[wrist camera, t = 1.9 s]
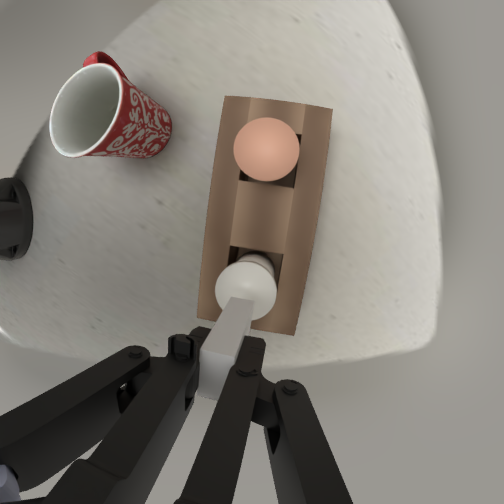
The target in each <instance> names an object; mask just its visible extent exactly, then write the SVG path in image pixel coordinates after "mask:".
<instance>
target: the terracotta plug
mask: <svg viewBox="0 0 504 504" xmlns="http://www.w3.org/2000/svg"><path fill="white" fill-rule="evenodd" d="M299 150H300V148H299V141H298V138H297V136H296V134H295V132H294V131H293V130H292V128H291V127H290V126H288V125H287V124H286V123H284V122H283V121H281V120H278V119H275V118H267V117H266V118H258V119H255V120H253V121H251V122H249V123H247V124H246V125H245V126H244V127H243V128H242V129H241V130H240V131H239V133H238V134H237V136H236V139H235V142H234V157H235V160H236V162H237V164H238V166H239V167H240V169H241V170H242V171H243V172H244V173H245V174H247V175H248V176H250V177H252V178H254V179H257V180H260V181H274V180H278V179H280V178H283V177H284V176H286V175H287V174H288V173H290V172H291V171H292V169H293V168H294V167H295V165H296V163H297V160H298V157H299Z"/></svg>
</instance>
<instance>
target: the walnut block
mask: <svg viewBox="0 0 504 504" xmlns="http://www.w3.org/2000/svg"><path fill="white" fill-rule="evenodd" d="M332 111H333V109H329V108H324V107H319V106H313V105H307V104H301V103H294V102H287V101H279V100H271V99H262V98H251V97H239V96H225V98H224V103H223V109H222V115H221V121H220V127H219V133H218V139H217V146H216V152H215V159H214V166H213V173H212V180H211V187H210V195H209V202H208V210H207V219H206V227H205V236H204V245H203V254H202V264H201V274H200V285H199V297H198V309H197V318H201V319H205V320H210V321H215V322H216V321H217V320H218V318H219V316H220V315H221V313H222V311H223V310H222V308H221V307H220V306H219V304H218V302H217V299H216V295H215V286H216V282H217V279H218V277H219V276H220V274H221V273H222V272H223V270H224V269H225V268H226V267H228V266H229V265H231V264H232V263H235V262H236V261H237V260H238V259H239V257H240V256H242V255H243V254H244V253H246V252H249V251H259V252H262V253H264V254H266V255H267V256H269V257H270V259H271V260H272V261H273V264H274V267H275V275H274V279H275V282H276V287H277V293H276V300H275V303H274V305H273V307H272V309H271V310H270V311H269V312H268V313H267V314H266V315H265V316H263V317H261V318H259V319H257V320H252V321H251V327H250V328H251V329H256V330H262V331H268V332H274V333H280V334H286V335H293V336H294V334H295V330H296V325H297V321H298V317H299V312H300V308H301V303H302V298H303V294H304V289H305V284H306V279H307V274H308V269H309V264H310V259H311V254H312V248H313V243H314V237H315V232H316V226H317V220H318V214H319V208H320V202H321V195H322V189H323V182H324V175H325V168H326V161H327V154H328V146H329V138H330V129H331V121H332ZM266 117H267V118H275V119H278V120H281V121H283V122H284V123H286V124H287V125H288V126H290V127H291V128H292V130H293V131H294V132H295V134H296V136H297V138H298V141H299V148H300V150H299V157H298V160H297V163H296V165H295V167H294V168H293V169H292V171H291V172H290V173H288V174H287V175H286V176H284V177H283V178H280V179H278V180H274V181H260V180H257V179H254V178H252V177H250V176H248V175H247V174H245V173H244V172H243V171H242V170H241V169H240V167H239V166H238V164H237V162H236V160H235V157H234V142H235V139H236V136H237V134H238V133H239V131H240V130H241V129H242V128H243V127H244V126H245V125H246V124H247V123H249V122H251V121H253V120H255V119H258V118H266Z"/></svg>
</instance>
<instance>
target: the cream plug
mask: <svg viewBox="0 0 504 504" xmlns="http://www.w3.org/2000/svg"><path fill="white" fill-rule="evenodd" d="M274 275H275V267H274V264H273V261H272V260H271V259H270V257H269V256H267V255H266V254H264V253H262V252H259V251H249V252H246V253H244V254H243V255H242V256H240V257H239V259H238V260H237V261H236V262H235V263H232V264H231V265H229V266H228V267H226V268H225V269H224V270H223V272H222V273H221V274H220V276H219V277H218V279H217V282H216V286H215V295H216V299H217V302H218V304H219V306H220V307H221V308H222V310H223V309H224V308H225V306H226V304H227V303H228V301H229V299H230V298H231V297H236V298H241V299H246V300H252V301H255V302H254V308H253V314H252V320H257V319H259V318H261V317H263V316H265V315H266V314H267V313H268V312H269V311H270V310H271V309H272V307H273V305H274V303H275V300H276V293H277V287H276V282H275V279H274Z"/></svg>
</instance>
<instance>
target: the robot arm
mask: <svg viewBox="0 0 504 504" xmlns="http://www.w3.org/2000/svg"><path fill="white" fill-rule="evenodd" d="M31 235H32V208H31V202H30V198H29V195H28V192H27V190H26V188H25V186H24V185H23V183H22V182H21V181H20V180H19V179H17V178H3V179H0V260H6V261H10V260H14V259H17V258H20V257H22V256H23V255H24V254H25V252H26V251H27V249H28V247H29V244H30V240H31ZM254 302H255V301H252V300H246V299H241V298H236V297H231V298H230V299H229V301H228V303H227V304H226V306H225V308H224V309H223V311H222V313H221V315H220V316H219V318H218V320H217V321H216V323H215V325H214V326H213V328H212V329H209V328H204V327H200V326H199V327H197V328H195V329H193V330H192V331H191V332H190V334H189V335H185V334H176V335H172V336H170V337H169V338H168V354H167V356H166V357H152V356H150V352H149V350H147V349H146V348H145V347H142V346H136V345H134V346H128V347H126V348H124V349H122V350H120V351H118V352H117V353H115V354H113V355H111V356H110V357H108V358H106V359H104V360H103V361H101V362H99V363H97V364H95V365H94V366H92V367H90V368H88V369H86V370H85V371H83V372H81V373H79V374H77V375H76V376H74V377H72V378H71V379H68V380H67V381H65V382H63V383H61V384H59V385H57V386H56V387H54V388H52V389H50V390H48V391H47V392H45V393H43V394H41V395H39V396H37V397H35V398H33V399H32V400H30V401H28V402H26V403H24V404H22V405H21V406H19V407H17V408H15V409H13V410H11V411H9V412H7V413H5V414H3V415H2V416H0V504H145V502H146V500H147V498H148V495H149V494H150V492H151V490H152V488H153V486H154V484H155V482H156V479H157V478H158V476H159V473H160V471H161V469H162V467H163V465H164V463H165V461H166V459H167V457H168V455H169V453H170V451H171V449H172V447H173V445H174V443H175V441H176V439H177V436H178V434H179V432H180V430H181V428H182V426H183V424H184V422H185V420H186V418H187V416H188V414H189V411H190V409H191V407H192V405H193V403H194V395H195V392H196V390H197V396H201V397H205V398H209V399H213V400H217V401H218V402H217V405H216V407H215V410H214V413H213V415H212V418H211V420H210V424H209V426H208V428H207V431H206V433H205V436H204V439H203V441H202V444H201V446H200V449H199V452H198V454H197V456H196V459H195V462H194V464H193V466H192V469H191V471H190V474H189V476H188V479H187V481H186V484H185V487H184V489H183V492H182V494H181V496H180V498H179V499H177V500H176V501H175V502H174V504H232V501H233V496H234V492H235V488H236V484H237V480H238V476H239V472H240V467H241V463H242V459H243V454H244V450H245V445H246V441H247V436H248V432H249V427H250V422H251V421H252V422H255V423H257V424H259V425H262V426H264V434H265V439H266V444H267V449H268V454H269V459H270V464H271V469H272V474H273V479H274V484H275V489H276V493H277V498H278V503H279V504H353V502H352V500H351V497H350V495H349V492H348V490H347V488H346V485H345V483H344V480H343V478H342V476H341V473H340V471H339V468H338V466H337V464H336V461H335V459H334V456H333V454H332V451H331V449H330V447H329V444H328V442H327V440H326V437H325V435H324V432H323V430H322V427H321V425H320V423H319V420H318V418H317V415H316V413H315V410H314V408H313V406H312V403H311V401H310V398H309V396H308V393H307V391H306V389H305V387H304V386H303V385H302V384H300V383H299V382H297V381H294V380H288V379H287V380H281V381H278V382H277V383H276V384H275V383H272V382H270V381H268V380H267V379H265V378H264V377H263V376H262V373H261V368H262V363H263V358H264V352H265V347H266V343H265V341H264V339H262V338H257V337H251V336H249V333H250V327H251V321H252V314H253V308H254ZM123 384H125V386H123V387H121V386H122V385H123ZM120 387H121V388H120ZM102 439H103V440H102ZM101 440H102V442H101V443H100V444H99V446H98V447H97V448H96V449H95V451H94V452H93V453H92V455H91V456H90V457H89V458H88V459H86V460H84V459H77V458H78V457H80V456H81V455H82V454H84V453H85V452H86V451H88V450H89V449H90V448H92V447H93V446H94V445H96V444H97V443H98V442H100V441H101ZM76 459H77V460H76ZM74 460H76V461H74ZM73 461H74V462H73ZM72 462H73V463H72ZM70 463H72V464H71V466H70V467H69V468H68V469H67V471H66V472H65V473H64V474H63V476H62V477H61V478H60V480H59V481H58V482H57V484H56V485H55V486H54V487H53V489H52V490H51V491H50V492H49V494H48V495H47V496H46V497H41V498H35V499H28V500H21V498H20V495H19V492H22V491H27V490H29V489H32V488H34V487H36V486H38V485H40V484H41V483H43V482H45V481H46V480H48V479H49V478H51V477H52V476H53V475H55V474H56V473H58V472H59V471H60V470H62V469H63V468H65V467H66V466H67V465H69V464H70Z"/></svg>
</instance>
